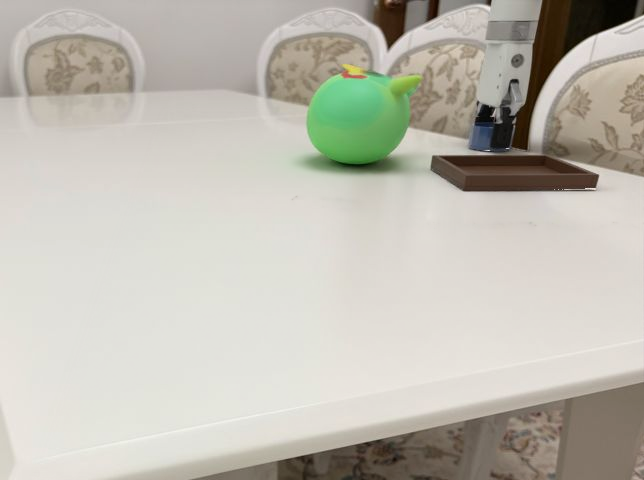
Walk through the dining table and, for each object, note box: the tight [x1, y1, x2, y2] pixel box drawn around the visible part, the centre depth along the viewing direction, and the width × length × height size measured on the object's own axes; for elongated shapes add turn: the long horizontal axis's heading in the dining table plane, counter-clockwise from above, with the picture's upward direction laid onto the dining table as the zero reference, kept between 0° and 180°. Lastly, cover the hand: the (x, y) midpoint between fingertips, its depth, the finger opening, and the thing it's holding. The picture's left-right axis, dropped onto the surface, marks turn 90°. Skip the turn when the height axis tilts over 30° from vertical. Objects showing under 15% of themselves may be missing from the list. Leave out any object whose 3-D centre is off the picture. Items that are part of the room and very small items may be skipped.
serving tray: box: [429, 154, 600, 192], centre depth 98 cm, size 18×15×2 cm
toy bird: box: [305, 63, 423, 165], centre depth 107 cm, size 18×17×15 cm
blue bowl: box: [467, 121, 516, 152], centre depth 119 cm, size 7×7×4 cm
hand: (489, 143), depth 120 cm, fingers open, 7 cm apart
